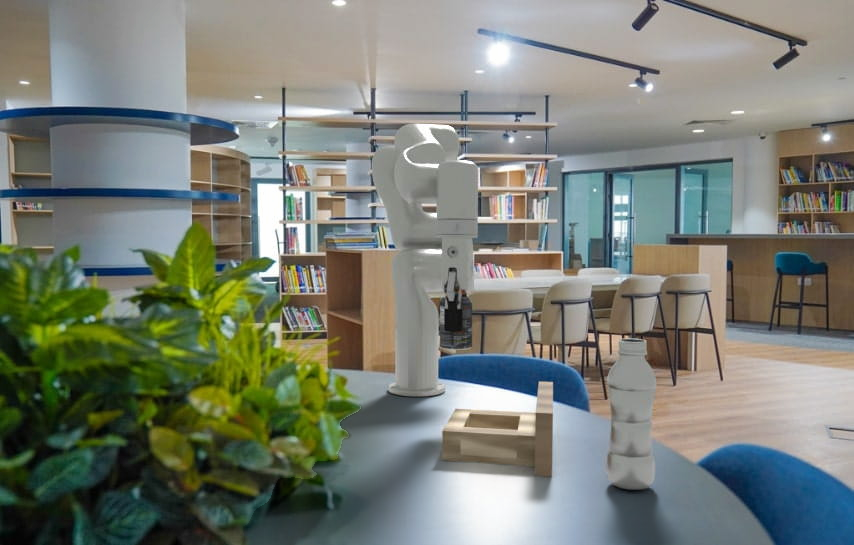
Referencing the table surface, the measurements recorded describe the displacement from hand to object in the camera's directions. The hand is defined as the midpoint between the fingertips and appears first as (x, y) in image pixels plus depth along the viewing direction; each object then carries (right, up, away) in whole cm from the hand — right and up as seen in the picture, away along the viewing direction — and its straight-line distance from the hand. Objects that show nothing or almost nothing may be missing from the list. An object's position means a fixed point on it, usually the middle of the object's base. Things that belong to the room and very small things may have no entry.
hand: (456, 328), depth 124 cm
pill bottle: (0, -4, 0) cm, 4 cm away
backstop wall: (+13, -18, -17) cm, 28 cm away
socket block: (+5, -18, -15) cm, 24 cm away
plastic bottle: (+22, -19, -32) cm, 43 cm away
